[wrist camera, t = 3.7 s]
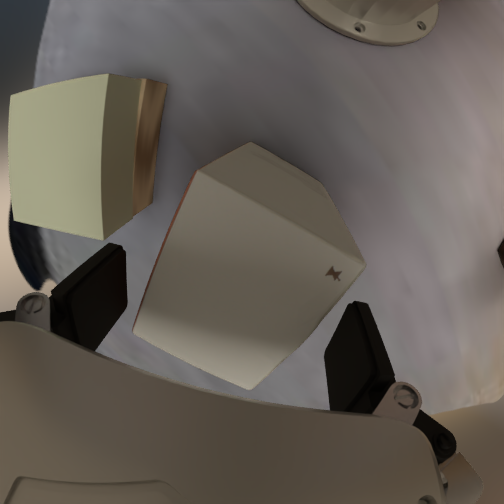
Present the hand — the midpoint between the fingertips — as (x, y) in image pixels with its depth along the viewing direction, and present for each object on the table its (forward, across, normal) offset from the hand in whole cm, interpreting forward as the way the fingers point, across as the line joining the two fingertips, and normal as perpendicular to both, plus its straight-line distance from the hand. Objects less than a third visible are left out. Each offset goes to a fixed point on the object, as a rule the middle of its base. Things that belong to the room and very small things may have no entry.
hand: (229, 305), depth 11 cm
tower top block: (+8, +14, -4) cm, 17 cm away
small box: (+12, 0, -1) cm, 12 cm away
